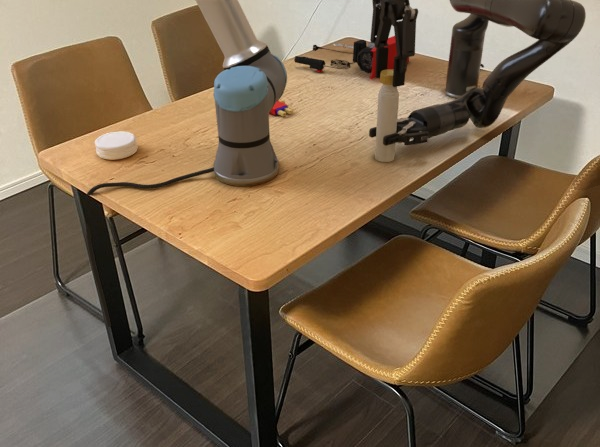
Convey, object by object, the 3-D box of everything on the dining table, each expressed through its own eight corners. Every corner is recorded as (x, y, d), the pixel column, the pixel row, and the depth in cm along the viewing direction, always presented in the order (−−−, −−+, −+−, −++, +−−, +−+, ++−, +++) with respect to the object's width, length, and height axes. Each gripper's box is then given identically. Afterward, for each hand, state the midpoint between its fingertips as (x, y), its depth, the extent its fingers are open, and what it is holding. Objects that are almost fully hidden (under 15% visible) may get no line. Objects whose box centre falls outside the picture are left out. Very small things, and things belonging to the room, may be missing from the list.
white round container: (108, 164, 149) (105, 151, 148) (90, 151, 156) (87, 138, 154) (145, 152, 155) (143, 139, 153) (126, 139, 161) (123, 127, 159)
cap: (400, 84, 139) (401, 75, 138) (381, 85, 139) (382, 76, 138) (397, 78, 142) (398, 69, 141) (378, 78, 142) (379, 69, 141)
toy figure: (296, 106, 174) (268, 92, 181) (278, 112, 170) (250, 99, 177) (296, 114, 176) (268, 100, 183) (278, 121, 172) (250, 107, 179)
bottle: (373, 161, 149) (378, 77, 138) (375, 152, 153) (380, 70, 142) (393, 162, 148) (399, 78, 137) (395, 154, 152) (401, 71, 141)
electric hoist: (293, 36, 204) (372, 51, 189) (336, 22, 223) (412, 35, 208) (292, 67, 209) (370, 83, 194) (335, 51, 228) (409, 65, 213)
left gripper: (356, -33, 134) (353, 71, 146) (409, -17, 119) (400, 97, 132) (385, -36, 137) (379, 66, 149) (440, -21, 122) (429, 91, 135)
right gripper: (413, 98, 157) (359, 112, 150) (453, 116, 147) (397, 133, 139) (411, 125, 161) (358, 141, 154) (450, 145, 151) (395, 163, 143)
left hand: (389, 80), depth 140 cm, fingers open, 6 cm apart
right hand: (377, 137), depth 146 cm, fingers closed on bottle, 4 cm apart
